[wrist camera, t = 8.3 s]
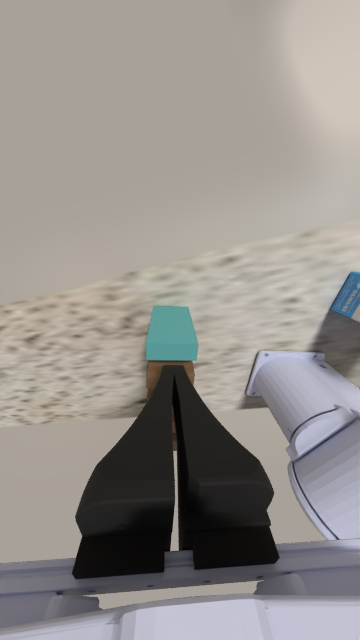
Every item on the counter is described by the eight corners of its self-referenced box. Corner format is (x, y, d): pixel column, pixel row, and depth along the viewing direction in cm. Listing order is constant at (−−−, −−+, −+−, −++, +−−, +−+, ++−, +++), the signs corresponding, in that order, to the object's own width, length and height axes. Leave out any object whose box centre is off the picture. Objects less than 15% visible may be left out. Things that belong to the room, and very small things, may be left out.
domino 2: (153, 328, 22) (146, 373, 15) (186, 329, 22) (194, 374, 15) (153, 339, 23) (146, 388, 15) (185, 340, 23) (192, 388, 16)
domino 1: (153, 305, 21) (145, 342, 13) (188, 306, 21) (198, 343, 14) (154, 318, 21) (146, 360, 14) (187, 319, 22) (196, 360, 14)
